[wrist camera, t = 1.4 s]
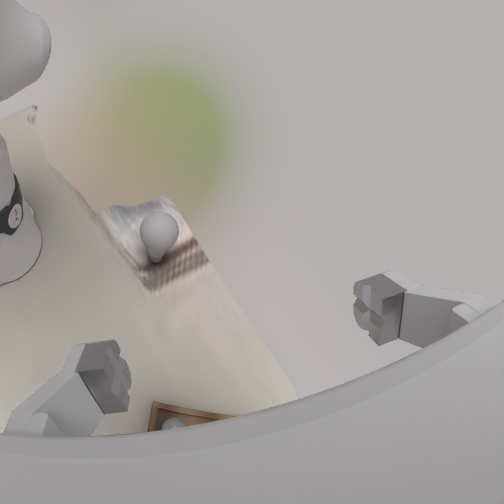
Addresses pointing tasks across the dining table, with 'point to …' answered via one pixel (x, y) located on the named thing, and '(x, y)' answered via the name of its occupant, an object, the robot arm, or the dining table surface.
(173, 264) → the dining table surface
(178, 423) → the part
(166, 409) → the tray
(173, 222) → the lightbulb
